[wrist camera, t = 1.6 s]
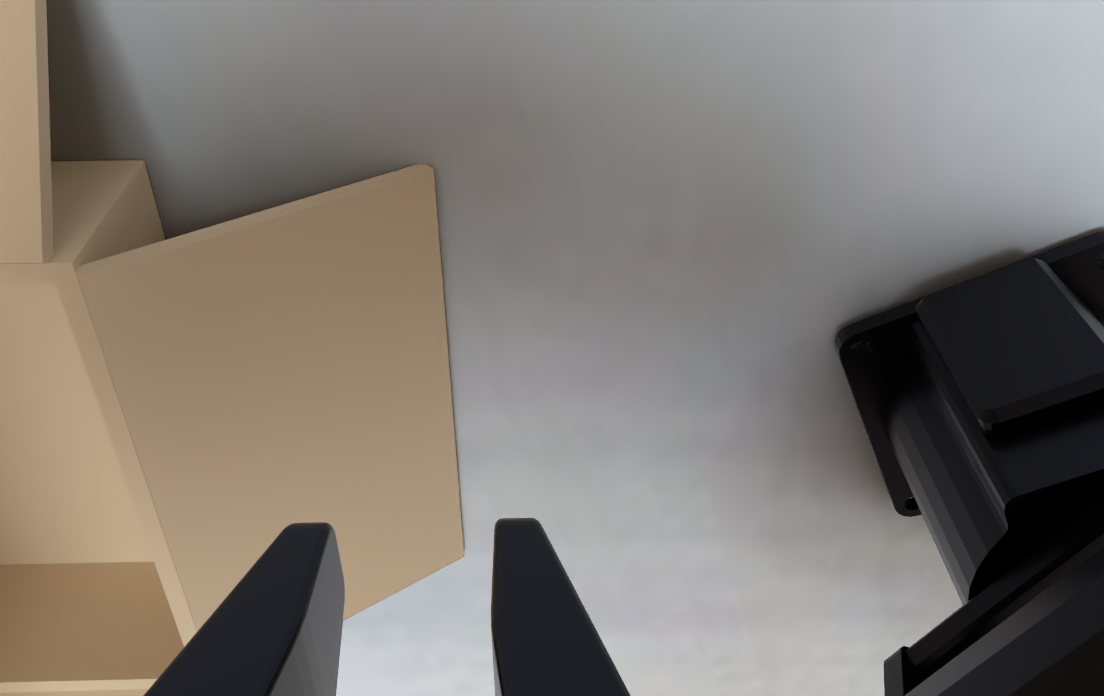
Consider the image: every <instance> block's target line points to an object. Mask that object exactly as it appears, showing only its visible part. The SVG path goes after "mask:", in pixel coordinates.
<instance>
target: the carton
mask: <svg viewBox="0 0 1104 696" xmlns="http://www.w3.org/2000/svg"><path fill="white" fill-rule="evenodd" d="M315 522H326V523H329V524H330V525H332V527H333V529H334V531H335V534H336V539H337V545H338V550H339V555H340V560H341V566H342V571H343V576H344V585H345V601H344V613H343V621H344V620H346V619H348V618H349V617H351V616H353V615H355V614H357V613H359V612H361V611H363V610H364V609H366V608H368V607H370V606H372V605H374V604H376V603H378V602H379V601H381V600H383V599H385V598H387V597H389V596H391V595H393V594H394V593H396V592H398V591H400V590H402V589H404V588H406V587H408V586H409V585H411V584H413V583H415V582H417V581H419V580H421V579H423V578H424V577H426V576H428V575H430V574H432V573H434V572H436V571H438V570H439V569H441V568H443V567H445V566H447V565H449V564H451V563H453V562H454V561H456V560H458V559H460V558H462V557H464V547H463V535H462V522H461V509H460V496H459V484H458V471H457V458H456V446H455V433H454V420H453V408H452V395H451V382H450V369H449V357H448V344H447V331H446V319H445V306H444V293H443V281H442V268H441V255H440V242H439V230H438V217H437V204H436V192H435V179H434V169H433V168H431V167H430V166H429V165H413V166H409V167H406V168H403V169H399V170H396V171H393V172H389V173H386V174H383V175H379V176H376V177H373V178H369V179H366V180H363V181H359V182H356V183H353V184H350V185H346V186H343V187H340V188H336V189H333V190H330V191H326V192H323V193H320V194H316V195H313V196H310V197H306V198H303V199H300V200H296V201H293V202H290V203H286V204H283V205H280V206H276V207H273V208H270V209H266V210H263V211H260V212H256V213H253V214H250V215H246V216H243V217H240V218H237V219H233V220H230V221H227V222H223V223H220V224H217V225H213V226H210V227H207V228H203V229H200V230H197V231H193V232H190V233H187V234H183V235H180V236H177V237H173V238H170V239H167V240H165V236H164V232H163V229H162V225H161V221H160V217H159V214H158V210H157V206H156V202H155V199H154V195H153V191H152V187H151V184H150V180H149V176H148V173H147V169H146V165H145V161H144V160H113V161H51V144H50V110H49V75H48V41H47V7H46V0H0V696H143V695H144V694H145V693H146V692H147V691H148V689H149V688H150V687H151V686H152V685H153V684H154V682H155V681H156V680H157V679H158V678H159V676H160V675H161V674H162V673H163V672H164V670H165V669H166V668H167V667H168V666H169V665H170V663H171V662H172V661H173V660H174V659H175V657H176V656H177V655H178V654H179V653H180V651H181V650H182V649H183V648H184V647H185V646H186V644H187V643H188V642H189V641H190V640H191V638H192V637H193V636H194V635H195V634H196V633H197V631H198V630H199V629H200V628H201V627H202V625H203V624H204V623H205V622H206V621H207V619H208V618H209V617H210V616H211V615H212V614H213V612H214V611H215V610H216V609H217V608H218V606H219V605H220V604H221V603H222V602H223V600H224V599H225V598H226V597H227V596H228V595H229V593H230V592H231V591H232V590H233V589H234V587H235V586H236V585H237V584H238V583H239V581H240V580H241V579H242V578H243V577H244V576H245V574H246V573H247V572H248V571H249V570H250V568H251V567H252V566H253V565H254V564H255V563H256V561H257V560H258V559H259V558H260V557H261V555H262V554H263V553H264V552H265V551H266V549H267V548H268V547H269V546H270V545H271V544H272V542H273V541H274V540H275V539H276V538H277V536H278V535H279V534H280V533H281V532H282V530H283V529H284V528H285V527H287V526H288V525H290V524H292V523H315Z"/></svg>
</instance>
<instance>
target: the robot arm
mask: <svg viewBox="0 0 1104 696" xmlns="http://www.w3.org/2000/svg"><path fill="white" fill-rule="evenodd" d="M1103 253H1104V231H1103V232H1098V233H1095V234H1093V235H1090V236H1087V237H1085V238H1082V239H1079V240H1076V241H1074V242H1071V243H1068V244H1066V245H1063V246H1060V247H1058V248H1055V249H1052V250H1049V251H1047V252H1044V253H1041V254H1039V255H1036V256H1033V257H1031V258H1028V259H1025V260H1022V261H1020V262H1017V263H1014V264H1012V265H1009V266H1006V267H1004V268H1001V269H998V270H995V271H993V272H990V273H987V274H985V275H982V276H979V277H977V278H974V279H971V280H968V281H966V282H963V283H960V284H958V285H955V286H952V287H950V288H947V289H944V290H941V291H939V292H936V293H933V294H931V295H928V296H925V297H923V298H920V299H917V300H914V301H912V302H909V303H906V304H904V305H901V306H898V307H896V308H893V309H890V310H887V311H885V312H882V313H879V314H877V315H874V316H871V317H869V318H866V319H863V320H860V321H858V322H855V323H852V324H850V325H848V326H846V327H844V328H843V329H842V330H841V331H840V332H839V333H838V334H837V336H836V339H835V349H836V351H837V354H838V357H839V360H840V362H841V365H842V368H843V370H844V373H845V376H846V379H847V381H848V384H849V387H850V389H851V392H852V395H853V398H854V400H855V403H856V406H857V408H858V411H859V414H860V417H861V419H862V422H863V425H864V427H865V430H866V433H867V436H868V438H869V441H870V444H871V447H872V449H873V452H874V455H875V457H876V460H877V463H878V466H879V468H880V471H881V474H882V476H883V479H884V482H885V485H886V487H887V490H888V493H889V495H890V498H891V501H892V503H893V505H894V508H895V510H896V511H897V512H898V513H899V514H901V515H903V516H909V517H912V516H917V515H921V514H922V515H923V517H924V519H925V522H926V524H927V526H928V528H929V530H930V533H931V535H932V537H933V539H934V542H935V544H936V546H937V548H938V550H939V553H940V555H941V557H942V559H943V561H944V564H945V566H946V568H947V570H948V572H949V575H950V577H951V579H952V581H953V583H954V586H955V588H956V590H957V592H958V594H959V597H960V599H961V601H962V603H963V606H962V607H961V608H959V609H958V610H957V611H955V612H954V613H953V614H952V615H950V616H949V617H948V618H946V619H945V620H944V621H943V622H941V623H940V624H939V625H938V626H936V627H935V628H934V629H932V630H931V631H930V632H929V633H927V634H926V635H925V636H923V637H922V638H921V639H920V640H918V641H917V642H916V643H914V644H913V645H912V646H911V647H905V646H903V647H901V648H900V649H899V650H898V651H896V652H895V653H894V654H893V655H891V656H890V657H889V658H887V659H886V660H885V661H884V686H885V696H1104V259H1102V260H1098V259H1099V257H1100V256H1101V255H1102V254H1103ZM861 341H865V342H866V343H865V344H864V345H863V346H862V347H860V348H856V349H851V347H852V346H853V345H854V344H855V343H857V342H861ZM913 496H914V497H913ZM910 497H913V498H911V499H909V498H910ZM344 601H345V585H344V576H343V571H342V566H341V560H340V555H339V550H338V545H337V539H336V534H335V531H334V529H333V527H332V525H330V524H329V523H326V522H315V523H292V524H290V525H288V526H287V527H285V528H284V529H283V530H282V532H281V533H280V534H279V535H278V536H277V538H276V539H275V540H274V541H273V542H272V544H271V545H270V546H269V547H268V548H267V549H266V551H265V552H264V553H263V554H262V555H261V557H260V558H259V559H258V560H257V561H256V563H255V564H254V565H253V566H252V567H251V568H250V570H249V571H248V572H247V573H246V574H245V576H244V577H243V578H242V579H241V580H240V581H239V583H238V584H237V585H236V586H235V587H234V589H233V590H232V591H231V592H230V593H229V595H228V596H227V597H226V598H225V599H224V600H223V602H222V603H221V604H220V605H219V606H218V608H217V609H216V610H215V611H214V612H213V614H212V615H211V616H210V617H209V618H208V619H207V621H206V622H205V623H204V624H203V625H202V627H201V628H200V629H199V630H198V631H197V633H196V634H195V635H194V636H193V637H192V638H191V640H190V641H189V642H188V643H187V644H186V646H185V647H184V648H183V649H182V650H181V651H180V653H179V654H178V655H177V656H176V657H175V659H174V660H173V661H172V662H171V663H170V665H169V666H168V667H167V668H166V669H165V670H164V672H163V673H162V674H161V675H160V676H159V678H158V679H157V680H156V681H155V682H154V684H153V685H152V686H151V687H150V688H149V689H148V691H147V692H146V693H145V694H144V695H143V696H336V688H337V677H338V666H339V656H340V645H341V634H342V624H343V613H344ZM491 631H492V648H493V664H494V681H495V696H630V694H629V692H628V690H627V688H626V686H625V684H624V682H623V681H622V679H621V677H620V675H619V673H618V671H617V669H616V667H615V665H614V663H613V661H612V659H611V658H610V656H609V654H608V652H607V650H606V648H605V646H604V644H603V642H602V640H601V638H600V636H599V635H598V633H597V631H596V629H595V627H594V625H593V623H592V621H591V619H590V617H589V615H588V613H587V612H586V610H585V608H584V606H583V604H582V602H581V600H580V598H579V596H578V594H577V592H576V590H575V589H574V587H573V585H572V583H571V581H570V579H569V577H568V575H567V573H566V571H565V569H564V567H563V566H562V564H561V562H560V560H559V558H558V556H557V554H556V552H555V550H554V548H553V546H552V544H551V543H550V541H549V539H548V537H547V535H546V533H545V531H544V529H543V527H542V525H541V524H540V523H539V521H538V520H536V519H534V518H504V519H499V520H498V521H497V522H496V524H495V530H494V553H493V576H492V600H491Z"/></svg>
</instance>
